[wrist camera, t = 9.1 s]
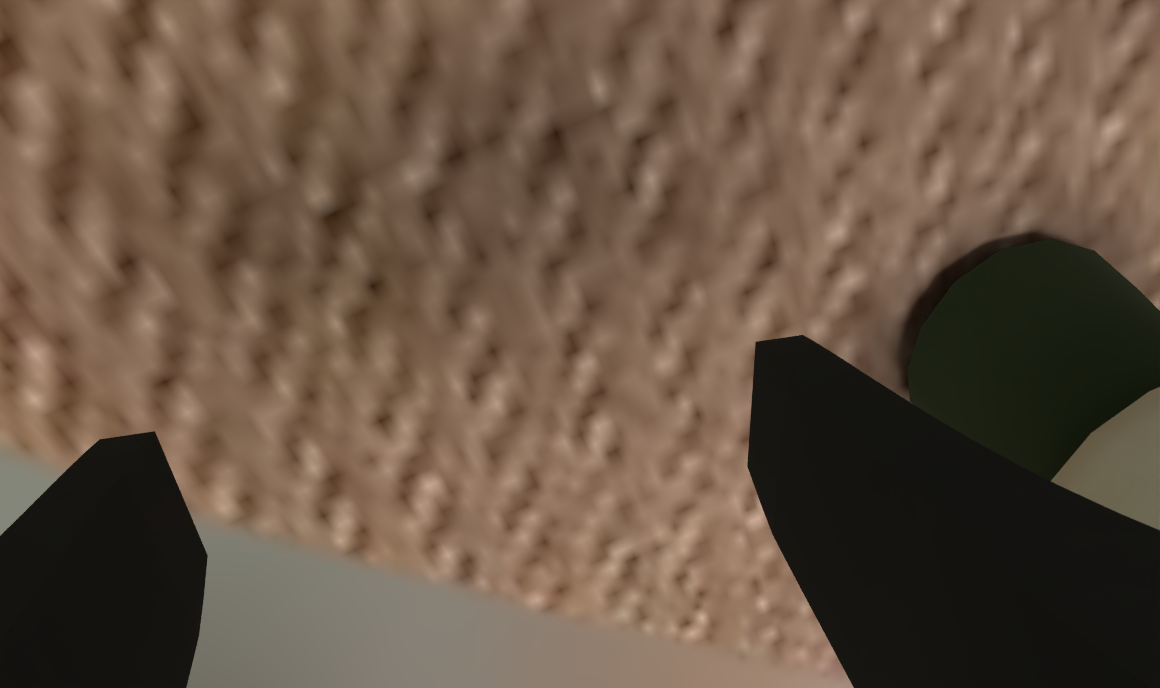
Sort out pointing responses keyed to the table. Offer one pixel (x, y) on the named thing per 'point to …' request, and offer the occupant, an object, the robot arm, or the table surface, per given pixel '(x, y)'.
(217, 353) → the table surface
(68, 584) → the robot arm
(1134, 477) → the character mug
